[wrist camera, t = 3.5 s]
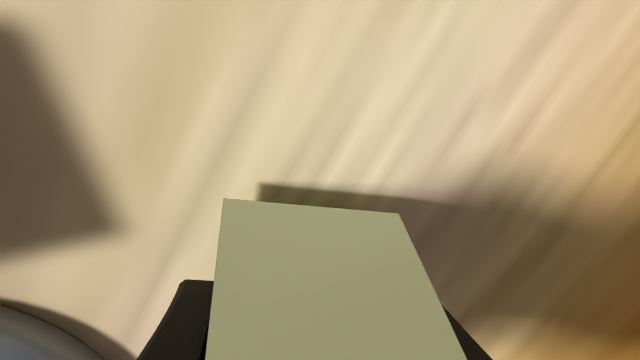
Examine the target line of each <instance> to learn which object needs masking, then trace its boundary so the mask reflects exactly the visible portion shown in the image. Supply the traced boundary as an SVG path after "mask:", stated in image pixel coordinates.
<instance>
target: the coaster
mask: <svg viewBox="0 0 640 360" xmlns="http://www.w3.org/2000/svg"><path fill="white" fill-rule="evenodd" d="M0 360H103V359H102V358H101V357H100V356H99V355H98V354H97V353H95V352H94V351H93V350H91V349H90V348H89V347H87V346H86V345H85V344H83V343H82V342H81V341H79V340H78V339H76V338H74V337H73V336H71V335H69V334H67V333H66V332H64V331H62V330H61V329H59V328H57V327H55V326H53V325H50V324H48V323H46V322H44V321H42V320H40V319H38V318H35V317H33V316H30V315H27V314H24V313H22V312H19V311H16V310H13V309H11V308H7V307H4V306H0Z"/></svg>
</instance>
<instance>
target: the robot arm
mask: <svg viewBox="0 0 640 360" xmlns="http://www.w3.org/2000/svg"><path fill="white" fill-rule="evenodd" d="M213 286H214V281H204V280H184V281H183V282H181V283H180V284H179V287H178V290H177V292H176V294H175V296H174V298H173V300H172V302H171V304H170V306H169V308H168V310H167V312H166V314H165V315H164V317H163V319H162V321H161V322H160V324H159V326H158V327H157V329H156V331H155V332H154V334H153V335H152V337H151V338H150V340H149V341H148V343H147V345H146V346H145V348H144V349H143V351H142V352H141V354H140V355H139V357H138V358H137V360H205V356H206V347H207V339H208V330H209V321H210V312H211V304H212V295H213ZM442 307H443V306H442ZM443 309H444V311H445V314H446V316H447V318H448V320H449V322H450V324H451V326H452V329H453V331H454V333H455V335H456V337H457V339H458V341H459V344H460V346H461V348H462V350H463V352H464V354H465V356H466V358H467V360H492V359H491V357H490V356H489V355H488V354H487V353H486V352H485V351H484V350H483V349H482V348H481V347H480V346H479V345H478V344H477V343H476V342H475V340H474V339H473V338H472V337H471V336H470V335H469V334H468V333H467V332H466V331H465V330H464V329H463V327H462V326H461V325H460V324H459V323H458V322H457V321H456V320H455V319H454V318H453V317H452V315H451V314H450V313H449V312H448V311H447V310H446V309H445V308H444V307H443Z"/></svg>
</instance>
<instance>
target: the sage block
mask: <svg viewBox="0 0 640 360" xmlns="http://www.w3.org/2000/svg"><path fill="white" fill-rule="evenodd" d="M205 360H467V358H466V356H465V354H464V352H463V350H462V348H461V346H460V344H459V341H458V339H457V337H456V335H455V333H454V331H453V329H452V326H451V324H450V322H449V320H448V318H447V316H446V314H445V311H444V309H443V307H442V305H441V303H440V301H439V299H438V296H437V294H436V292H435V290H434V288H433V286H432V284H431V281H430V279H429V277H428V275H427V273H426V271H425V269H424V267H423V264H422V262H421V260H420V258H419V256H418V254H417V252H416V249H415V247H414V245H413V243H412V241H411V239H410V237H409V234H408V232H407V230H406V228H405V226H404V224H403V222H402V219H401V217H400V215H399V213H387V212H376V211H364V210H352V209H341V208H329V207H318V206H306V205H295V204H283V203H272V202H260V201H248V200H237V199H225V198H223V207H222V216H221V225H220V233H219V242H218V251H217V260H216V268H215V277H214V286H213V295H212V304H211V312H210V321H209V330H208V339H207V347H206V356H205Z"/></svg>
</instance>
